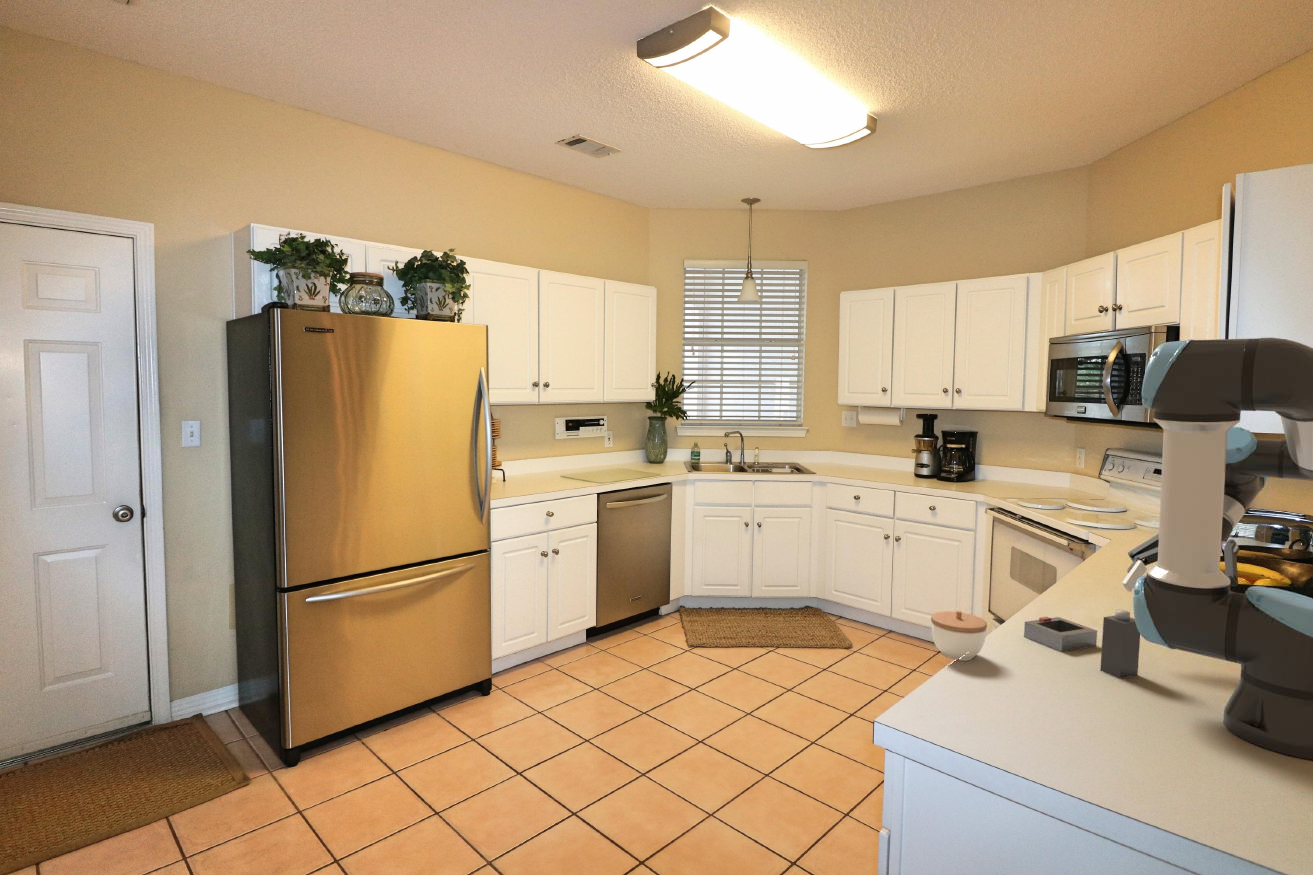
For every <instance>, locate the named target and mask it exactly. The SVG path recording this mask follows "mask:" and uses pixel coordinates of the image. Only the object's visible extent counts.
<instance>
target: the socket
mask: <svg viewBox="0 0 1313 875" xmlns="http://www.w3.org/2000/svg"><path fill="white" fill-rule="evenodd" d="M1023 637H1024V638H1026V639H1029V640H1032V642H1037V643H1038V644H1041V645H1044V646H1046V647H1048V646H1049V648H1052V649H1053V648H1054V650H1055V651H1058V650H1059V651H1058V652H1068V650H1069V651H1074V650H1075V649H1076V650H1081V649H1080V648H1082V649H1086V647H1088V648H1091V647H1090V646H1094V647H1097V640H1098V630H1097V629H1094V628H1091V627H1088V626H1086V625H1085V626H1084V625H1082V624H1079V623H1076V622H1074V621H1072V620H1068V619H1066V618H1062V617H1061V616H1060V617H1059V616H1055V617H1049V616H1043V617H1038V619H1035V620H1033V619H1032V620H1026V621H1024V630H1023Z"/></svg>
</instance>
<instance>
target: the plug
mask: <svg viewBox="0 0 1313 875" xmlns="http://www.w3.org/2000/svg"><path fill="white" fill-rule="evenodd" d="M1114 612H1115V613H1114V615H1109V616H1103V623H1102V637H1101V638H1102V639H1101V655H1100V656H1101V657H1100V672H1102V671H1103V672H1102V673H1105V674H1107V675H1110V676H1113V677H1115V678H1117V679H1125V678H1130V677H1131V678H1132V677H1136V676H1138V675H1139V674H1138V673H1139V662H1140V661H1139V658H1140V645H1141V644H1140V643H1141V634H1140V632H1139V631H1138V629H1137V626H1136V622H1135V618H1134V617H1131V612H1130V611H1128V610H1124V609H1115V611H1114Z"/></svg>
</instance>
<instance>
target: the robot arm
mask: <svg viewBox="0 0 1313 875" xmlns="http://www.w3.org/2000/svg"><path fill="white" fill-rule="evenodd" d="M1141 397H1142V398H1141V404H1142V406H1143V407H1144V408H1145V409H1147V410H1153V421H1154V422H1155V423H1157V424H1158V425H1159V426H1160V427H1161V428H1162V429H1163V438H1162V440H1163V441H1162V457H1161V458H1162V460H1161V479H1160V480H1161V483H1160V485H1161V486H1160V502H1159V503H1160V504H1159V523H1158V524H1159V526H1158V528H1159V529H1158V533H1157V534H1156V535H1154V536H1152V537H1151V538H1150V539H1147V540H1146V541H1144V542H1143V543H1141V544H1139V545H1137V546H1136V547H1134V548H1133V549H1131V550H1130V551H1128V553H1127V555H1128V557H1129V558H1130V560H1131V561H1132V563H1131V564H1130V566H1129V567H1128V568H1127V571H1126V572H1127V573H1128V574H1127V575H1126V576H1125V578H1124V580H1122V582H1121V584H1122V586H1123V587H1124V588H1125V589H1126V591H1127V592H1130V593H1132V592H1133V598H1132V608H1133V616H1134V617H1133V618H1134V619H1135V622H1136V626H1137V629H1138V631H1139V632H1140V637H1142V638H1143V639H1144V640H1145V641H1147V642H1149V643H1151V644H1156V645H1158V646H1163V647H1166V648H1167V649H1170V650H1178V651H1183V652H1187V653H1191V654H1196V655H1200V656H1204V657H1208V658H1212V659H1216V660H1217V659H1218V660H1222V661H1226V662H1230V663H1235V664H1238V665H1240V676H1239V681H1238V684H1237V685H1236V687H1235V688H1234V689H1233V692H1232V693H1231V696H1230V698H1229V699H1228V701H1227V702H1226V705H1225V706H1224V710H1223V719H1222V723H1223V725H1224V727H1225V728H1226V729H1227V730H1229V731H1230V732H1231V733H1233V734H1234V735H1236V736H1237V737H1239V738H1241V739H1244V740H1245V741H1247V742H1249V743H1252V744H1254V745H1257V746H1259V747H1262V748H1265V749H1267V750H1271V751H1273V752H1276V753H1279V754H1283V755H1287V756H1292V757H1296V758H1301V759H1305V760H1313V598H1312V597H1310V596H1309V597H1308V596H1307V595H1303V594H1299V593H1296V592H1293V591H1288V590H1284V589H1280V588H1276V587H1275V588H1274V587H1266V586H1260V585H1256V586H1255V585H1254V586H1250V587H1248V588H1247V590H1245V591H1244V593H1241V592H1235V591H1231V586H1232V587H1237V586H1238V585H1239V575H1238V560H1237V559H1238V558H1237V556H1238V553H1239V551H1240V547H1239V545H1238V544H1237V542H1236V540H1235V539H1233V538H1230V539H1229V537H1230V536H1231V534H1232V532H1233V530H1234V529H1235V528H1236V527H1237V525H1238V523H1239V522H1240V520H1241V519H1242V518H1243V516H1244V515H1245V513H1246V511H1247V510H1248V509H1249V507H1250V506H1251V504H1252V503H1253V502H1254V500H1255V499H1256V497H1257V496H1258V495H1259V493H1260V492H1261V491H1262V489H1264V487H1265V485H1266V483H1267V480H1268V479H1269V478H1271V479H1272V478H1273V479H1274V478H1275V479H1285V480H1286V479H1287V480H1299V481H1309V482H1310V481H1311V482H1313V347H1312V346H1309V345H1306V344H1304V343H1301V342H1298V341H1294V340H1290V339H1287V338H1285V339H1284V338H1279V337H1259V338H1256V337H1255V338H1223V339H1219V338H1217V339H1187V340H1177V341H1167V342H1164V343H1161V344H1159V345H1158V346H1157V347H1156V348H1155V350H1153V352H1152V354H1151V356H1150V358H1149V359H1148V363H1147V365H1146V368H1145V373H1144V375H1143V381H1142V387H1141ZM1243 411H1246V412H1256V411H1257V412H1261V411H1262V412H1274V413H1275V414H1277V415H1278V416H1280V420H1281V424H1282V429H1283V432H1284V438H1285V439H1284V440H1283V439H1266V438H1257V437H1256V436H1255V434H1254V433H1252V432H1251V431H1250V430H1249V429H1245V428H1242V427H1239V426H1236V425H1237V424H1239V423H1240V422H1241V415H1242V414H1241V412H1243ZM1221 549H1222V550H1223V554H1224V556H1223V557H1224V572H1225V573H1224V572H1223V571H1222V570H1221V569H1220V567H1221ZM1153 563H1154V564H1153ZM1151 564H1152V565H1151ZM1148 565H1150V566H1149V567H1148V568H1147V567H1146V566H1148ZM1145 574H1146V575H1145Z"/></svg>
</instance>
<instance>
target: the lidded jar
mask: <svg viewBox="0 0 1313 875" xmlns="http://www.w3.org/2000/svg"><path fill="white" fill-rule="evenodd" d="M930 621H931V636H932V639H933V643H934V645H935V647H936V648H937V649H938V650H939V651H940V652H941V655H942V656H944V657H945V658H948V659H950V660H956V661H961V662H962V661H963V662H964V661H971V660H972V659H974V657H975V656H977V655H978V654H980V652H981V651H982V649H983V647H984V645H985V641H986V633H987V629H988V628H987V626H988V624H987V622H986V620H985V619H984V618H982V617H979V616H976V615H973V614H970V613H966V612H962V611H961V610H956V611H952V610H951V611H949V610H948V611H947V610H945V611H943V610H942V611H938V612H933V614H932V615H931V618H930ZM967 652H969V653H967ZM966 653H967V654H966ZM963 655H965V656H963ZM962 656H963V657H962ZM960 657H962V658H961V659H960V660H958V659H959V658H960Z"/></svg>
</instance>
